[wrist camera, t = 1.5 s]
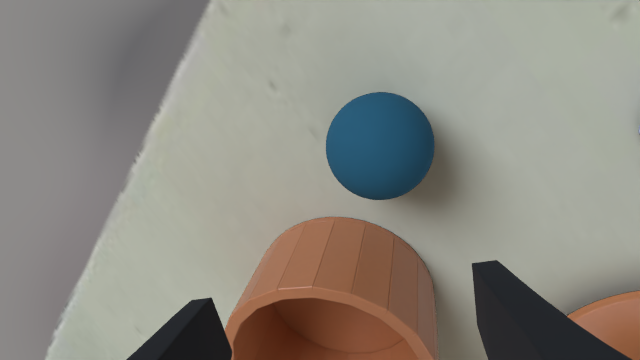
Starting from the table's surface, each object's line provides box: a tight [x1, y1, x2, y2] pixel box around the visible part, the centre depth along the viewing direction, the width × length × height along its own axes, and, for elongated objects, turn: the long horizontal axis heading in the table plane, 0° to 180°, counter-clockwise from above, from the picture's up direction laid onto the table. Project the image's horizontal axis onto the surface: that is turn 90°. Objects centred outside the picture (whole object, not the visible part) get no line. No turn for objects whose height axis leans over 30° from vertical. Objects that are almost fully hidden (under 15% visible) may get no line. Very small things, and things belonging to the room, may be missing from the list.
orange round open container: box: [225, 217, 439, 360], centre depth 21 cm, size 10×10×6 cm
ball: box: [326, 92, 434, 200], centre depth 17 cm, size 4×4×4 cm
